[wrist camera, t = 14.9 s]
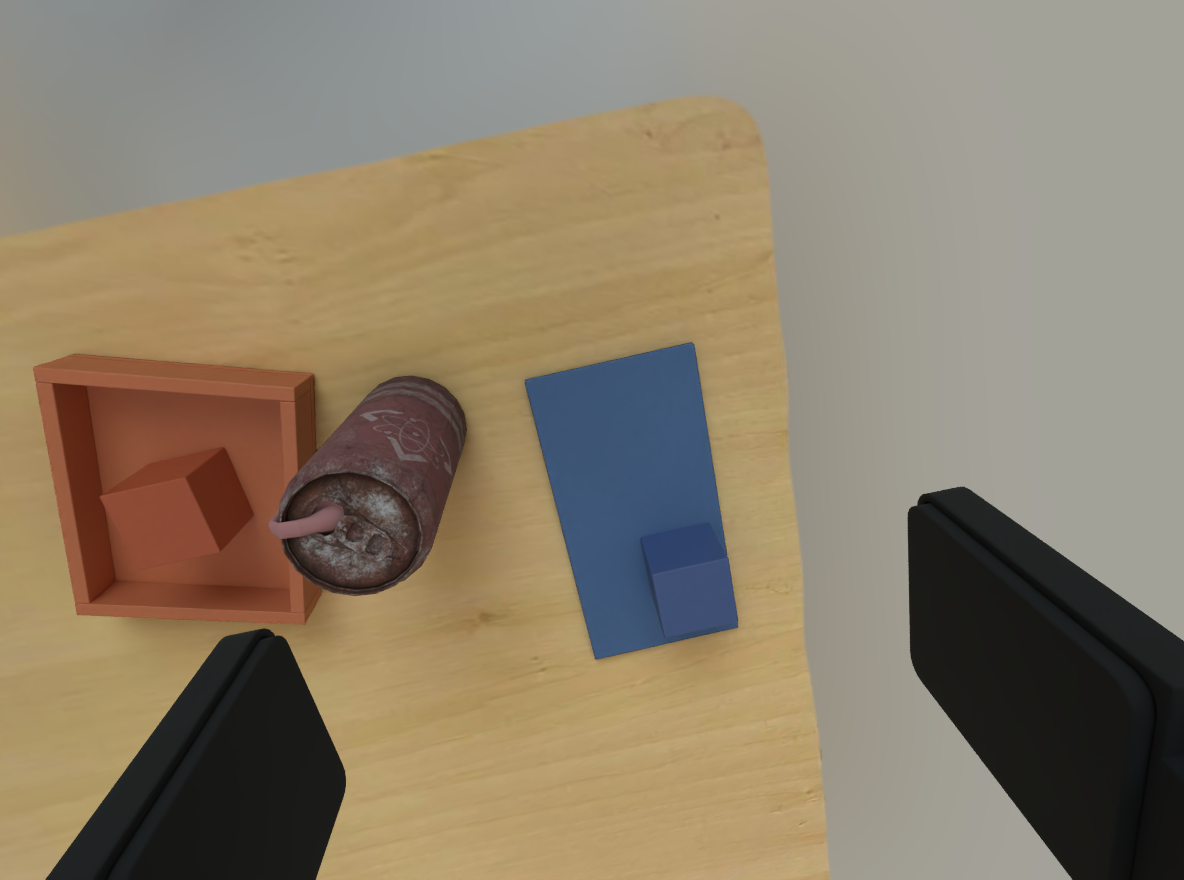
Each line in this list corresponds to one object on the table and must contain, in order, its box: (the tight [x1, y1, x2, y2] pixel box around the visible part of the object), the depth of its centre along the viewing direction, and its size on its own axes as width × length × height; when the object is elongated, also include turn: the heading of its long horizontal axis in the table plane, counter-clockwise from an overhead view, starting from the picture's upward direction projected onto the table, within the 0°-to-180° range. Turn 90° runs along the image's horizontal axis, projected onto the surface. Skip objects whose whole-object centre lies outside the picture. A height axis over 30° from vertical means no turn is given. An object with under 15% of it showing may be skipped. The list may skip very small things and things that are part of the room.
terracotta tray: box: [33, 354, 321, 624], centre depth 37 cm, size 15×13×3 cm
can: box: [269, 376, 467, 596], centre depth 32 cm, size 6×6×14 cm
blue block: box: [640, 522, 738, 638], centre depth 40 cm, size 4×4×4 cm
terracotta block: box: [100, 447, 254, 571], centre depth 36 cm, size 4×4×4 cm
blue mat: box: [525, 342, 738, 659], centre depth 41 cm, size 20×10×1 cm, turn 12°
